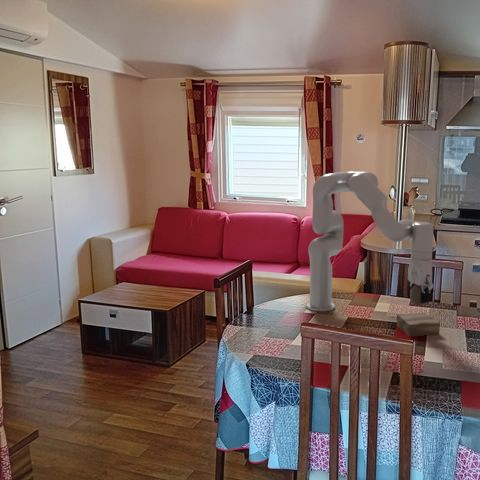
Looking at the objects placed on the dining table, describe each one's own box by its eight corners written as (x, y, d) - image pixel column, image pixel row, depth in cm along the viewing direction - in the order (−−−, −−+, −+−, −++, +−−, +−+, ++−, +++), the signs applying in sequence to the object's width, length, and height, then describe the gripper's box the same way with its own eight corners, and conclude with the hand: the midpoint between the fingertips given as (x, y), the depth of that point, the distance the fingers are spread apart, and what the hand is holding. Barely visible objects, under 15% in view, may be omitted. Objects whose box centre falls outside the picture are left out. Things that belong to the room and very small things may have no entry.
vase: (429, 306, 206) (430, 284, 204) (410, 306, 207) (411, 283, 206) (427, 301, 212) (428, 279, 211) (408, 300, 214) (409, 279, 212)
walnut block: (396, 326, 217) (397, 314, 216) (425, 324, 219) (425, 312, 218) (409, 337, 206) (409, 324, 205) (439, 335, 207) (439, 323, 206)
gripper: (400, 250, 213) (398, 294, 217) (425, 260, 197) (423, 307, 200) (417, 249, 215) (415, 292, 219) (443, 259, 199) (441, 305, 202)
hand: (419, 299), depth 209 cm, fingers closed on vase, 6 cm apart
